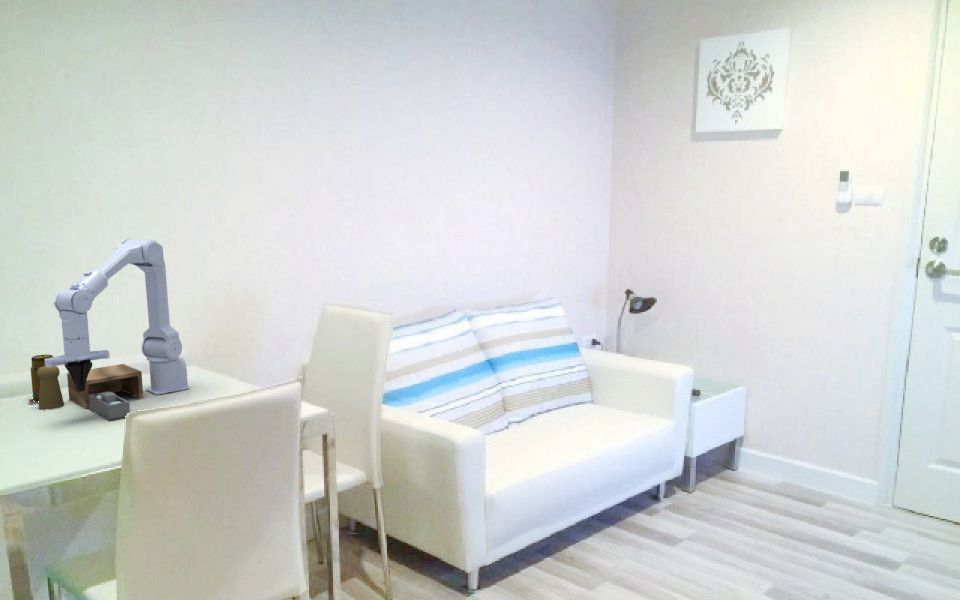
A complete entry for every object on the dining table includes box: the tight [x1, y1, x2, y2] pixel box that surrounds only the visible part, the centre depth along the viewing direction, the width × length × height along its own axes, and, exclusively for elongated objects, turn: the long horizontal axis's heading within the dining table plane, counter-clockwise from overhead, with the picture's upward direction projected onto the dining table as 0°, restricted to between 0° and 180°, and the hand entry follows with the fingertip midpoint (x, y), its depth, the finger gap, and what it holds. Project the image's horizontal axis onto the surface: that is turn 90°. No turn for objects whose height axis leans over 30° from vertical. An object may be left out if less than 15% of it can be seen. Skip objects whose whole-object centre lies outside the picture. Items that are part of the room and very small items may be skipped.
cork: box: [37, 366, 65, 410], centre depth 207 cm, size 6×6×11 cm
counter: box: [66, 363, 144, 410], centre depth 214 cm, size 15×13×8 cm
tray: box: [89, 392, 131, 422], centre depth 201 cm, size 5×14×5 cm, turn 45°
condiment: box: [28, 354, 54, 405], centre depth 214 cm, size 7×8×12 cm
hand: (80, 390), depth 195 cm, fingers closed
